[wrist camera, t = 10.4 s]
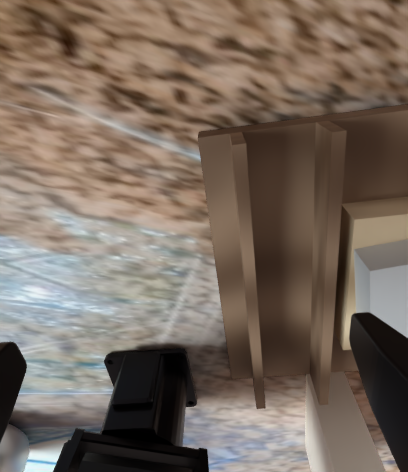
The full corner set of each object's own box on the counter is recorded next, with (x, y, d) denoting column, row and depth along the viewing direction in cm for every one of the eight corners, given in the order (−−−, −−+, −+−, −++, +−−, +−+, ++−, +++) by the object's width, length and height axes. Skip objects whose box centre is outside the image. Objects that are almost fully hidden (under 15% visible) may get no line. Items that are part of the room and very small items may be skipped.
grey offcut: (419, 336, 20) (439, 363, 18) (357, 345, 20) (370, 372, 18) (427, 235, 17) (453, 256, 15) (353, 249, 17) (369, 271, 15)
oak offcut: (402, 321, 22) (419, 344, 20) (332, 326, 22) (343, 350, 20) (427, 194, 18) (450, 209, 16) (340, 203, 18) (354, 219, 16)
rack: (407, 350, 25) (439, 397, 22) (230, 363, 26) (233, 410, 23) (462, 96, 17) (529, 106, 13) (199, 132, 18) (195, 149, 14)
